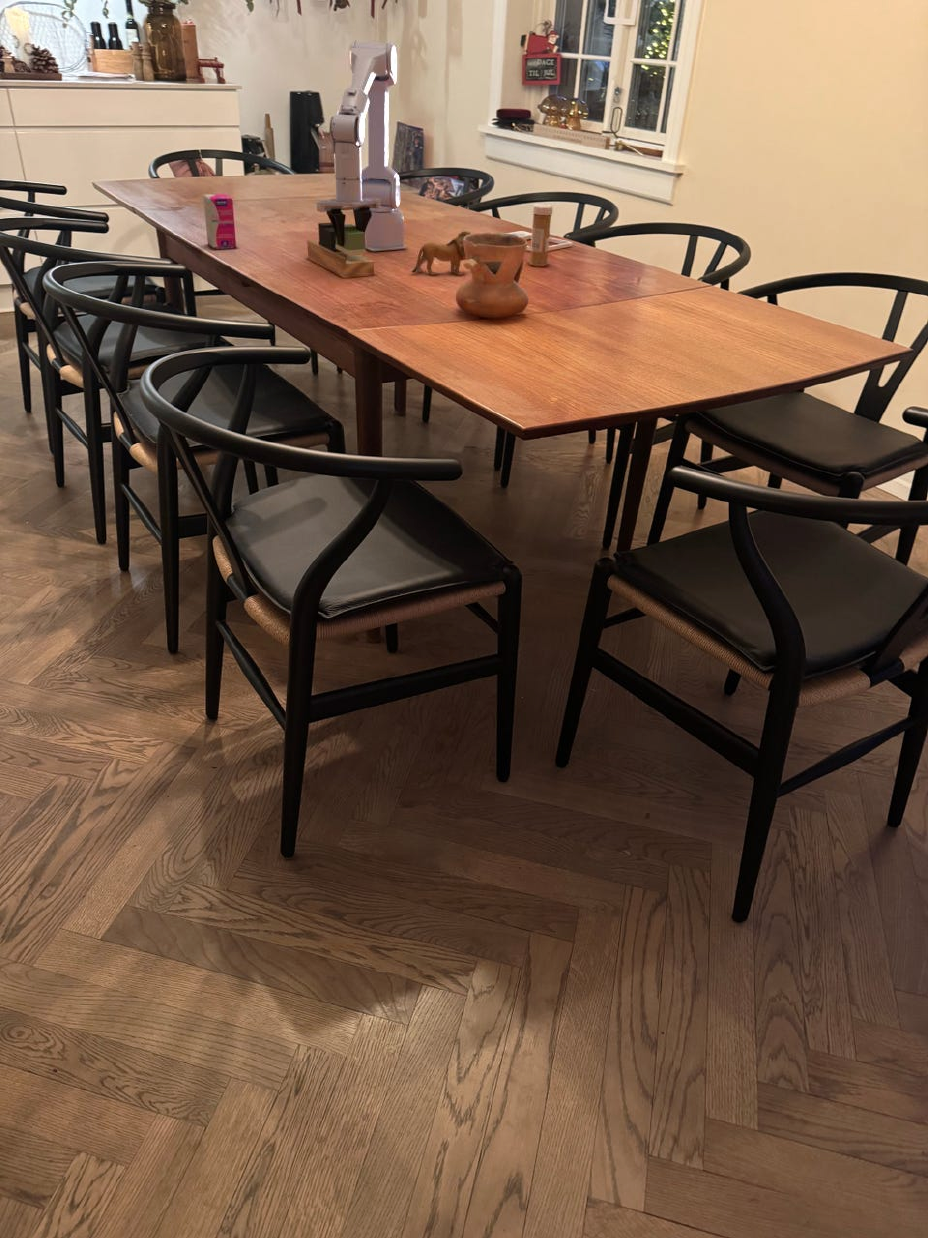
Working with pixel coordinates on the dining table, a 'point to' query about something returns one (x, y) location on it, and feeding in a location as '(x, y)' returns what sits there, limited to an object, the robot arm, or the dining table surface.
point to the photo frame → (561, 242)
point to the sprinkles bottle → (540, 234)
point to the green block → (352, 241)
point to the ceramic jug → (493, 275)
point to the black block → (327, 236)
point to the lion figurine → (443, 254)
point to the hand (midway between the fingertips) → (350, 244)
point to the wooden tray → (340, 261)
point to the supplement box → (219, 221)
